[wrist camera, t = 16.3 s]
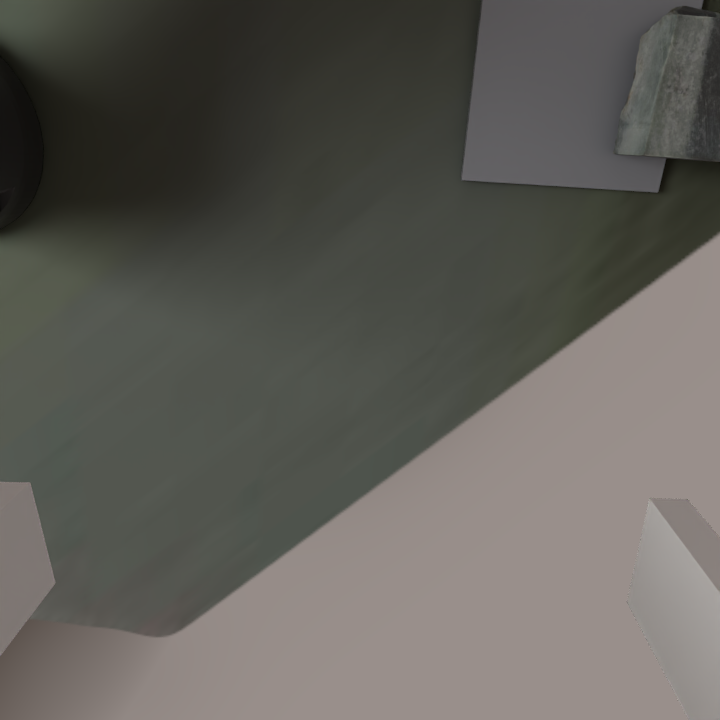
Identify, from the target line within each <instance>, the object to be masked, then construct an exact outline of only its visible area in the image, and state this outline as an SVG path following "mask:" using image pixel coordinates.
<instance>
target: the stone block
mask: <svg viewBox="0 0 720 720" xmlns="http://www.w3.org/2000/svg"><path fill="white" fill-rule="evenodd" d="M633 79H634V81H633V84H632V87H631V89H630V91H629V95H628V97H627V100H626V103H625V106H624V108H623V109H622V111H621V114H620V119H619V125H618V134H617V138H616V140H615V148H614V151H613V153H614V154H616V155H631V156H645V157H659V158H671V159H685V160H699V161H716V162H720V14H719V13H717V12H712V11H707V10H702V9H697V8H693V7H689V6H679V7H675V8H673V9H671V10H670V11H669V12H668V13H667V14H666V15H665V16H663V17H662V18H661V20H659V21H658V22H657V23H655V24H654V25H653V26H652V27H651V28H650V29H649V30H648V31H646V32H645V33H644V34H643V35H642V36H641V39H640V44H639V51H638V55H637V61H636V68H635V72H634V76H633Z"/></svg>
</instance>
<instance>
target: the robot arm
mask: <svg viewBox="0 0 720 720" xmlns="http://www.w3.org/2000/svg"><path fill="white" fill-rule="evenodd" d="M42 166H43V143H42V135H41V130H40V126H39V122H38V118H37V115H36V112H35V110H34V107H33V105H32V102H31V100H30V98H29V96H28V94H27V92H26V90H25V89H24V87H23V85H22V83H21V82H20V80H19V79H18V77H17V76H16V75H15V73H14V72H13V71H12V69H11V68H10V67H9V66H8V64H7V63H6V62H5V61H4V60H3V59H2V58H1V57H0V229H1V228H3V227H5V226H7V225H8V224H10V223H11V222H13V221H14V220H15V219H17V218H18V217H19V216H20V215H21V214H22V213H23V212H24V210H25V209H26V208H27V207H28V205H29V204H30V202H31V201H32V199H33V197H34V195H35V193H36V191H37V188H38V185H39V182H40V178H41V173H42ZM54 584H55V580H54V576H53V572H52V568H51V564H50V560H49V556H48V552H47V548H46V544H45V540H44V536H43V532H42V528H41V524H40V520H39V516H38V512H37V508H36V504H35V500H34V496H33V492H32V488H31V484H30V483H24V482H0V655H1V654H2V653H3V651H4V650H5V649H6V647H7V646H8V645H9V644H10V642H11V641H12V640H13V638H14V637H15V636H16V634H17V633H18V632H19V630H20V629H21V628H22V627H23V625H24V624H25V623H26V621H27V620H28V619H29V617H30V616H31V615H32V613H33V612H34V611H35V609H36V608H37V607H38V605H39V604H40V603H41V602H42V600H43V599H44V598H45V596H46V595H47V594H48V592H49V591H50V590H51V588H52V587H53V586H54ZM627 603H628V605H629V607H630V609H631V611H632V613H633V615H634V617H635V619H636V621H637V623H638V625H639V626H640V628H641V630H642V632H643V634H644V636H645V638H646V640H647V642H648V644H649V645H650V647H651V649H652V651H653V653H654V655H655V657H656V659H657V661H658V663H659V665H660V666H661V668H662V670H663V672H664V674H665V676H666V678H667V680H668V682H669V684H670V686H671V687H672V689H673V691H674V693H675V695H676V697H677V699H678V701H679V703H680V705H681V707H682V708H683V710H684V712H685V714H686V716H687V718H688V720H720V537H719V536H718V534H717V533H716V532H715V531H714V530H713V529H712V527H711V526H710V525H709V524H708V523H707V522H706V520H705V519H704V518H703V517H702V516H701V514H700V513H699V512H698V511H697V510H696V509H695V507H694V506H693V505H692V504H691V503H690V502H689V500H688V499H660V498H650V499H649V503H648V508H647V512H646V517H645V522H644V526H643V531H642V535H641V539H640V544H639V549H638V554H637V558H636V562H635V567H634V572H633V576H632V581H631V585H630V590H629V594H628V599H627Z"/></svg>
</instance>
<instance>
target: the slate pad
mask: <svg viewBox="0 0 720 720" xmlns="http://www.w3.org/2000/svg"><path fill="white" fill-rule="evenodd" d="M702 4H703V0H481V7H480V16H479V24H478V33H477V42H476V50H475V59H474V68H473V76H472V85H471V94H470V103H469V111H468V120H467V129H466V137H465V146H464V155H463V163H462V172H461V180H467V181H483V182H499V183H515V184H531V185H547V186H563V187H579V188H595V189H611V190H627V191H643V192H658V191H659V187H660V182H661V178H662V174H663V170H664V165H665V161H666V158H659V157H645V156H631V155H616V154H614V153H613V151H614V148H615V140H616V138H617V134H618V125H619V119H620V114H621V111H622V109H623V108H624V106H625V103H626V100H627V97H628V95H629V91H630V89H631V87H632V84H633V81H634V79H633V76H634V72H635V68H636V61H637V55H638V51H639V44H640V39H641V36H642V35H643V34H644V33H645V32H646V31H648V30H649V29H650V28H651V27H652V26H653V25H654V24H655V23H657V22H658V21H659V20H661V18H662V17H663V16H665V15H666V14H667V13H668V12H669V11H670V10H671V9H673V8H675V7H679V6H689V7H693V8H697V9H701V8H702Z"/></svg>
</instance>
